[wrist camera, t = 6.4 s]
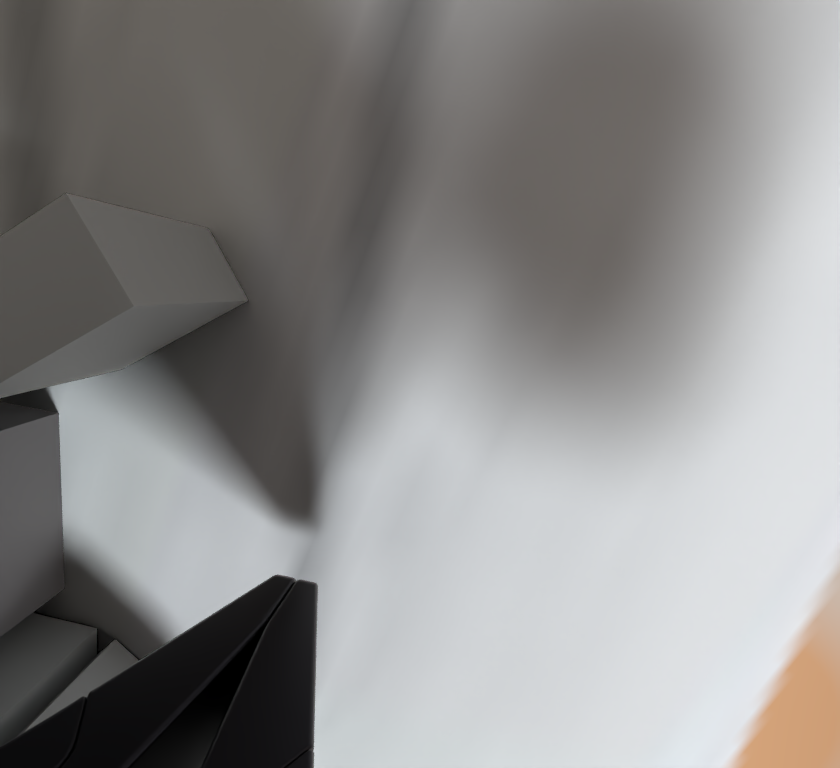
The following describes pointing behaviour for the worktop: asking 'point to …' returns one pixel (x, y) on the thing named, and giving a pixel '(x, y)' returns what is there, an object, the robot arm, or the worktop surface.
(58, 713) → the robot arm
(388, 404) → the worktop surface
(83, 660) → the grey blocky piece
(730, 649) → the worktop surface
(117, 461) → the worktop surface
